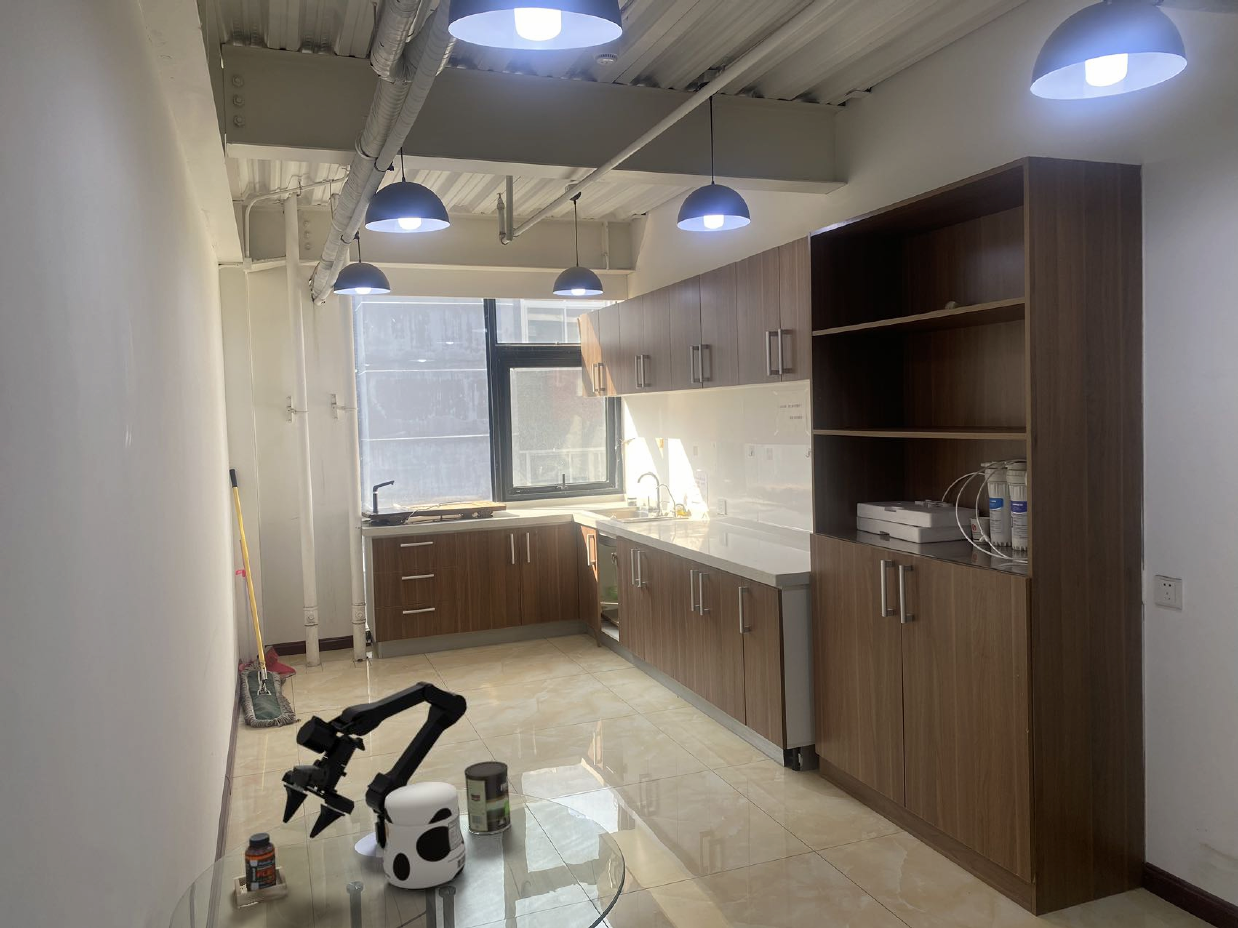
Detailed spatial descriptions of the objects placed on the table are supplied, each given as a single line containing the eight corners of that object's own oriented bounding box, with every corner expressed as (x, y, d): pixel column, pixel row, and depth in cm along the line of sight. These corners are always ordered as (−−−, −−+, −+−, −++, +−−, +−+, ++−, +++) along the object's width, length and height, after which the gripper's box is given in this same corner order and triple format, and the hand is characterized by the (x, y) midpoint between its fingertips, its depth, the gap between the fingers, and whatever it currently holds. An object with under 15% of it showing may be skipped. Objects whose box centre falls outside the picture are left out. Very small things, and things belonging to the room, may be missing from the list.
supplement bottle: (259, 898, 191) (256, 844, 191) (240, 892, 194) (237, 839, 194) (283, 885, 196) (279, 833, 196) (264, 880, 199) (261, 828, 199)
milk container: (378, 871, 202) (373, 789, 202) (456, 852, 209) (451, 774, 208) (392, 906, 186) (386, 818, 186) (476, 885, 193) (470, 800, 193)
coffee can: (513, 816, 228) (510, 759, 227) (508, 834, 217) (504, 775, 217) (471, 818, 228) (468, 761, 227) (464, 836, 217) (460, 777, 217)
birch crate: (282, 877, 202) (281, 866, 202) (287, 895, 193) (286, 884, 193) (235, 889, 197) (234, 877, 197) (238, 908, 189) (237, 896, 189)
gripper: (284, 737, 207) (245, 805, 201) (339, 764, 197) (300, 836, 191) (316, 752, 215) (280, 818, 209) (370, 779, 205) (334, 849, 199)
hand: (297, 830), depth 202 cm, fingers open, 9 cm apart
